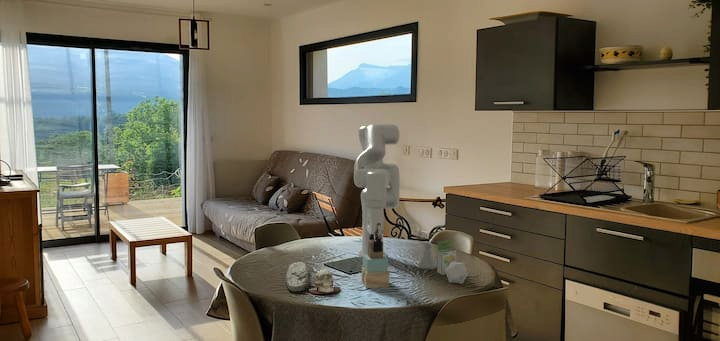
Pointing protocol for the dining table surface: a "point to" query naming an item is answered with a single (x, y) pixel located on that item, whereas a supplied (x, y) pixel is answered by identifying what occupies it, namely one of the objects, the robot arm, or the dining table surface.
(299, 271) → the elongated rock
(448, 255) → the ink box
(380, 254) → the walnut block
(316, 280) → the skull
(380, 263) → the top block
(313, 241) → the dining table surface
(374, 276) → the bottom block
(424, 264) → the flask
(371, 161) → the robot arm
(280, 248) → the dining table surface
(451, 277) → the die
